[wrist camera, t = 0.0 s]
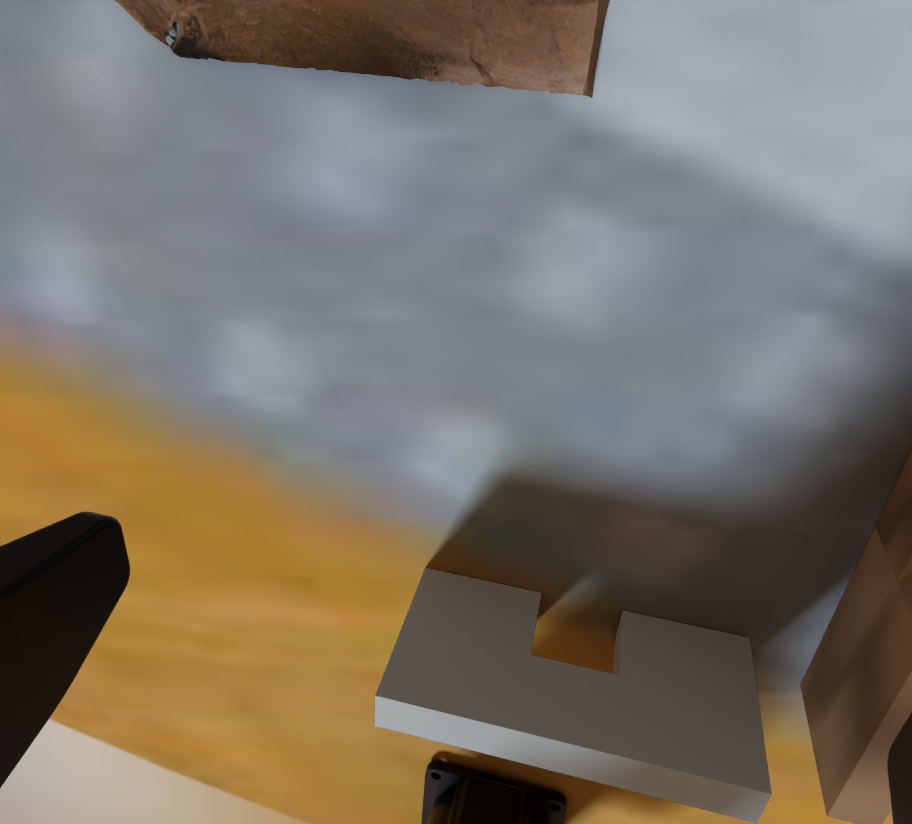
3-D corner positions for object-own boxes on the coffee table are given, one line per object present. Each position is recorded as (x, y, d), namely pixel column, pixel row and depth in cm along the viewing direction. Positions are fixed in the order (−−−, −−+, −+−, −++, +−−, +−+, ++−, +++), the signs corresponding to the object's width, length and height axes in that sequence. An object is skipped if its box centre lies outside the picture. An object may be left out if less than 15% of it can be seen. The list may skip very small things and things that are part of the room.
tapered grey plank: (738, 665, 27) (757, 823, 22) (423, 595, 29) (374, 725, 24) (749, 637, 26) (771, 793, 21) (425, 567, 28) (375, 695, 23)
